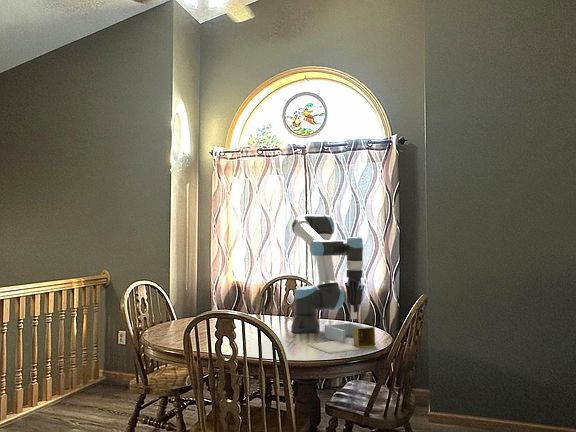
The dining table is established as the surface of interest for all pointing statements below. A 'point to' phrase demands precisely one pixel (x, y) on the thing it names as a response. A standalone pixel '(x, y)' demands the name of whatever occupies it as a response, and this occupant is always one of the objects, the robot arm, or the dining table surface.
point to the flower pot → (364, 337)
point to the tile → (333, 347)
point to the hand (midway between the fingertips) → (354, 318)
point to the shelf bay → (340, 331)
